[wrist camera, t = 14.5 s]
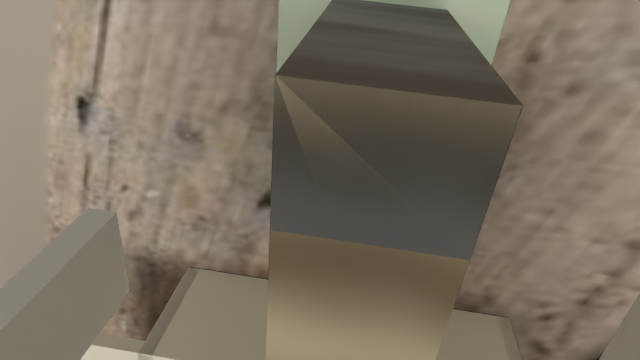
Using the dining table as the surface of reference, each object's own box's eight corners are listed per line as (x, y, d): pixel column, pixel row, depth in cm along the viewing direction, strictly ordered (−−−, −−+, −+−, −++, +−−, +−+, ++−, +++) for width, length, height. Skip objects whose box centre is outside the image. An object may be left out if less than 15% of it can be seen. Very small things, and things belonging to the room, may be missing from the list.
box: (398, 228, 25) (407, 439, 15) (313, 216, 25) (263, 413, 15) (447, 9, 19) (522, 106, 8) (334, -3, 19) (274, 74, 9)
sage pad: (433, 254, 26) (434, 261, 26) (272, 230, 27) (270, 236, 26) (517, -37, 18) (520, -36, 18) (283, -61, 19) (280, -60, 18)
